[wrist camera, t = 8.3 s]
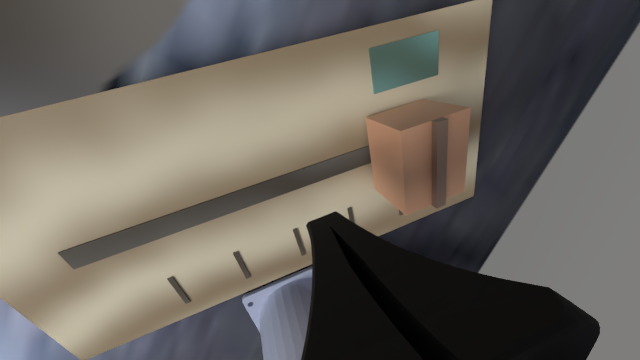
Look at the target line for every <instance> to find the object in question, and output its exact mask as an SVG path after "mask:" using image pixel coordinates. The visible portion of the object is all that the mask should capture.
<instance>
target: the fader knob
mask: <svg viewBox="0 0 640 360" xmlns="http://www.w3.org/2000/svg"><path fill="white" fill-rule="evenodd" d="M470 112H471V107H466V106H460V105H455V104H449V103H443V102H438V101H432V100H426V99H422V100H419V101H415V102H412V103H409V104H406V105H403V106H400V107H397V108H394V109H390V110H387V111H384V112H381V113H378V114H375V115H372V116H369V117H365V118H366V126H367V134H368V142H369V149H370V157H371V165H372V172H373V180H374V188H375V190H376V191H378V192H379V193H380V194H381V195H382V196H383V197H385V198H386V199H387V200H388V201H389V202H390V203H392V204H393V205H394V206H395V207H396V208H397V209H399V210H400V211H401V212H402V213H403V214H405V215H406V216H407V215H409V214H412V213H414V212H417V211H419V210H421V209H424V208H426V207H429V206H431V205H432V206H434V207H435V208H436V209H437V208H440V207H442V206H444V205H446V199H448V198H450V197H453V196H455V195H458V194H460V193H462V192H465V179H466V166H467V152H468V139H469V125H470Z"/></svg>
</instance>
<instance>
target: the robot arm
mask: <svg viewBox="0 0 640 360" xmlns="http://www.w3.org/2000/svg"><path fill="white" fill-rule="evenodd" d="M306 227H307V230H308V233H309V237H310V240H311V249H312V266H310V267H308V268H306V269H303V270H301V271H299V272H296V273H294V274H292V275H289V276H287V277H284V278H282V279H280V280H277V281H275V282H273V283H270V284H268V285H266V286H263V287H261V288H259V289H256V290H254V291H251V292H249V293H247V294H245V295H244V296H243V297H242V302H243V304H244V306H245V308H246V309H247V311H248V313H249V314H250V316H251V318H252V320H253V321H254V323H255V325H256V327H257V328H258V330H259V332H260V334H261V341H262V350H263V358H264V360H586V359H587V357H588V355H589V353H590V351H591V350H592V348H593V346H594V344H595V342H596V340H597V338H598V336H599V334H600V327H599V323H598V321H597V320H596V319H594V318H593V317H592V316H590V315H589V314H587V313H586V312H585V311H583V310H582V309H580V308H579V307H577V306H576V305H574V304H573V303H572V302H570V301H569V300H567V299H566V298H564V297H562V296H561V295H560V294H558V293H557V292H555V291H553V290H552V289H550V288H549V287H543V286H538V285H532V284H527V283H522V282H516V281H511V280H505V279H500V278H496V277H492V276H487V275H483V274H479V273H475V272H471V271H467V270H464V269H460V268H457V267H453V266H450V265H447V264H444V263H440V262H437V261H434V260H431V259H428V258H425V257H423V256H420V255H417V254H415V253H412V252H410V251H407V250H405V249H403V248H400V247H398V246H396V245H394V244H392V243H390V242H388V241H386V240H384V239H382V238H380V237H378V236H376V235H374V234H372V233H371V232H369V231H367V230H365V229H364V228H362V227H360V226H358V225H357V224H355V223H354V222H352V221H350V220H349V219H347V218H346V217H344V216H343V215H341V214H340V213H338V212H336V211H335V212H333V213H330V214H328V215H325V216H322V217H320V218H317V219H315V220H312V221H310V222H308V223H307V225H306ZM250 302H252V303H250Z"/></svg>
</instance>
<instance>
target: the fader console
mask: <svg viewBox="0 0 640 360" xmlns="http://www.w3.org/2000/svg"><path fill="white" fill-rule="evenodd" d="M491 10H492V0H475V1H471V2H466V3H462V4H458V5H454V6H450V7H446V8H442V9H438V10H434V11H430V12H426V13H422V14H418V15H414V16H409V17H405V18H401V19H397V20H393V21H389V22H385V23H381V24H377V25H373V26H369V27H365V28H361V29H357V30H353V31H348V32H344V33H340V34H336V35H332V36H328V37H324V38H320V39H316V40H312V41H308V42H304V43H300V44H296V45H291V46H287V47H283V48H279V49H275V50H271V51H267V52H263V53H259V54H255V55H251V56H247V57H243V58H239V59H234V60H230V61H226V62H222V63H218V64H214V65H210V66H206V67H202V68H198V69H194V70H190V71H186V72H182V73H177V74H173V75H169V76H165V77H161V78H157V79H153V80H149V81H145V82H141V83H137V84H133V85H129V86H125V87H120V88H116V89H112V90H108V91H104V92H100V93H96V94H92V95H88V96H84V97H80V98H76V99H72V100H68V101H64V102H59V103H55V104H51V105H47V106H43V107H39V108H35V109H31V110H27V111H23V112H19V113H15V114H11V115H6V116H3V117H0V298H1V299H2V300H3V301H5V302H6V303H7V304H9V305H10V306H11V307H13V308H14V309H15V310H16V311H18V312H19V313H20V314H22V315H23V316H24V317H26V318H27V319H28V320H29V321H31V322H32V323H33V324H35V325H36V326H37V327H39V328H40V329H41V330H42V331H44V332H45V333H46V334H48V335H49V336H50V337H52V338H53V339H54V340H55V341H57V342H58V343H59V344H61V345H62V346H63V347H65V348H66V349H67V350H68V351H70V352H71V353H72V354H74V355H75V356H76V357H78V358H79V359H80V360H87V359H89V358H91V357H94V356H96V355H98V354H101V353H103V352H105V351H108V350H110V349H113V348H115V347H117V346H120V345H122V344H124V343H127V342H129V341H132V340H134V339H136V338H139V337H141V336H143V335H146V334H148V333H150V332H153V331H155V330H158V329H160V328H162V327H165V326H167V325H169V324H172V323H174V322H176V321H179V320H181V319H184V318H186V317H188V316H191V315H193V314H195V313H198V312H200V311H202V310H205V309H207V308H210V307H212V306H214V305H217V304H219V303H221V302H224V301H226V300H229V299H231V298H233V297H236V296H238V295H240V294H243V293H245V292H247V291H250V290H252V289H255V288H257V287H259V286H262V285H264V284H266V283H269V282H271V281H273V280H276V279H278V278H281V277H283V276H285V275H288V274H290V273H292V272H295V271H297V270H299V269H302V268H304V267H307V266H309V265H311V264H312V249H311V240H310V237H309V233H308V230H307V227H306V225H307V223H308V222H310V221H312V220H315V219H317V218H320V217H322V216H325V215H328V214H330V213H333V212H335V211H336V212H338V213H340V214H341V215H343V216H344V217H346V218H347V219H349V220H350V221H352V222H354V223H355V224H357V225H358V226H360V227H362V228H364V229H365V230H367V231H369V232H371V233H372V234H374V235H376V236H380V235H382V234H385V233H387V232H389V231H392V230H394V229H397V228H399V227H401V226H404V225H406V224H408V223H411V222H413V221H415V220H418V219H420V218H423V217H425V216H427V215H430V214H432V213H434V212H437V211H439V210H441V209H444V208H446V207H449V206H451V205H453V204H456V203H458V202H460V201H463V200H465V199H467V198H470V197H472V196H474V187H475V177H476V166H477V156H478V145H479V135H480V125H481V114H482V104H483V93H484V83H485V72H486V62H487V52H488V41H489V31H490V20H491ZM422 99H426V100H432V101H438V102H443V103H449V104H455V105H460V106H466V107H471V112H470V125H469V139H468V152H467V166H466V179H465V192H462V193H460V194H458V195H455V196H453V197H450V198H448V199H446V205H444V206H442V207H440V208H437V209H436V208H435V207H434V206H432V205H431V206H429V207H426V208H424V209H421V210H419V211H417V212H414V213H412V214H409V215H407V216H406V215H405V214H403V213H402V212H401V211H400V210H399V209H397V208H396V207H395V206H394V205H393V204H392V203H390V202H389V201H388V200H387V199H386V198H385V197H383V196H382V195H381V194H380V193H379V192H378V191H376V190H375V188H374V180H373V172H372V165H371V157H370V149H369V142H368V134H367V126H366V118H365V117H369V116H372V115H375V114H378V113H381V112H384V111H387V110H390V109H394V108H397V107H400V106H403V105H406V104H409V103H412V102H415V101H419V100H422Z"/></svg>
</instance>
